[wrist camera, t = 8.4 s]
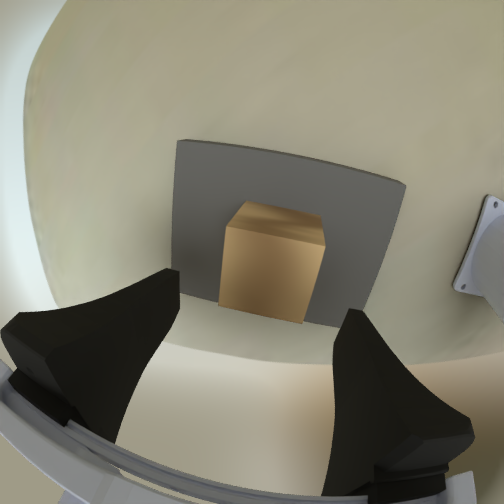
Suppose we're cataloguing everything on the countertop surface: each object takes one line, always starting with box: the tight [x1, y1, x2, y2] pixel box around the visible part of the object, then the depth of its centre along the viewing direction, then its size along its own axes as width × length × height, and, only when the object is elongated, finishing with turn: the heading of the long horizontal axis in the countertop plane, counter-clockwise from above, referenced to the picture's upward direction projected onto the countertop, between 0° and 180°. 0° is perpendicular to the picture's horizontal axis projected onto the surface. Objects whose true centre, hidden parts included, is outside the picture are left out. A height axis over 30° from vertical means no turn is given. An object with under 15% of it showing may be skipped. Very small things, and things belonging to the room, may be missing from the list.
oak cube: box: [218, 201, 326, 324], centre depth 15 cm, size 4×4×4 cm
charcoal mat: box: [172, 139, 406, 328], centre depth 18 cm, size 14×11×2 cm
